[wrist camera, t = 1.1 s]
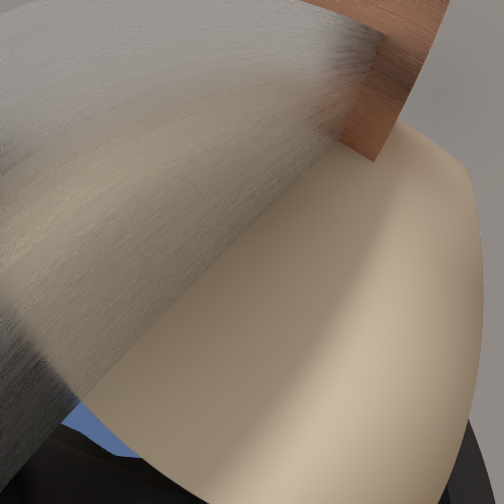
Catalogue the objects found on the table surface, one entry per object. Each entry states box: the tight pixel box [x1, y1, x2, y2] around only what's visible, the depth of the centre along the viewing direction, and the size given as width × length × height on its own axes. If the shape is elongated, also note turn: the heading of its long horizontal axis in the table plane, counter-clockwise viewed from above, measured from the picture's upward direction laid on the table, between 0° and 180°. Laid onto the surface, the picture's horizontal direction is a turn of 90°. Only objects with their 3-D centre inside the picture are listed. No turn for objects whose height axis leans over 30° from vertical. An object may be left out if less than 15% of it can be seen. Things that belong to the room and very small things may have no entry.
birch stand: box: [81, 119, 483, 504], centre depth 19 cm, size 12×12×32 cm
